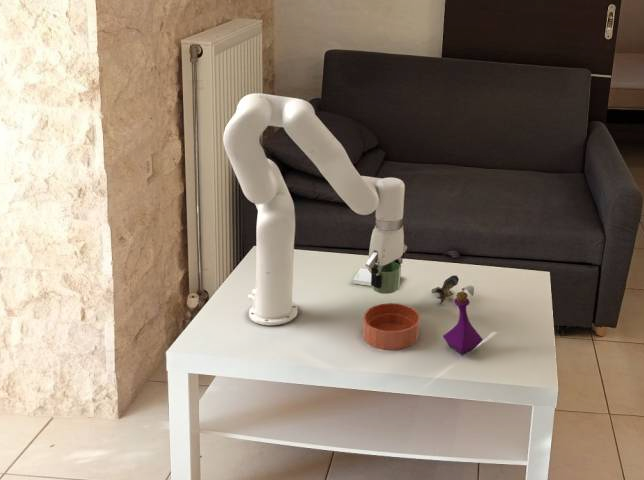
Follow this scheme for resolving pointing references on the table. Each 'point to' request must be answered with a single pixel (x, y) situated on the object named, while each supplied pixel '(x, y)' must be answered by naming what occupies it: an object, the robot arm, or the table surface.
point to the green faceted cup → (389, 278)
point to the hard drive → (363, 277)
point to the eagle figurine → (446, 288)
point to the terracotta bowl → (391, 326)
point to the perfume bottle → (463, 327)
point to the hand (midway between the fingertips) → (385, 281)
